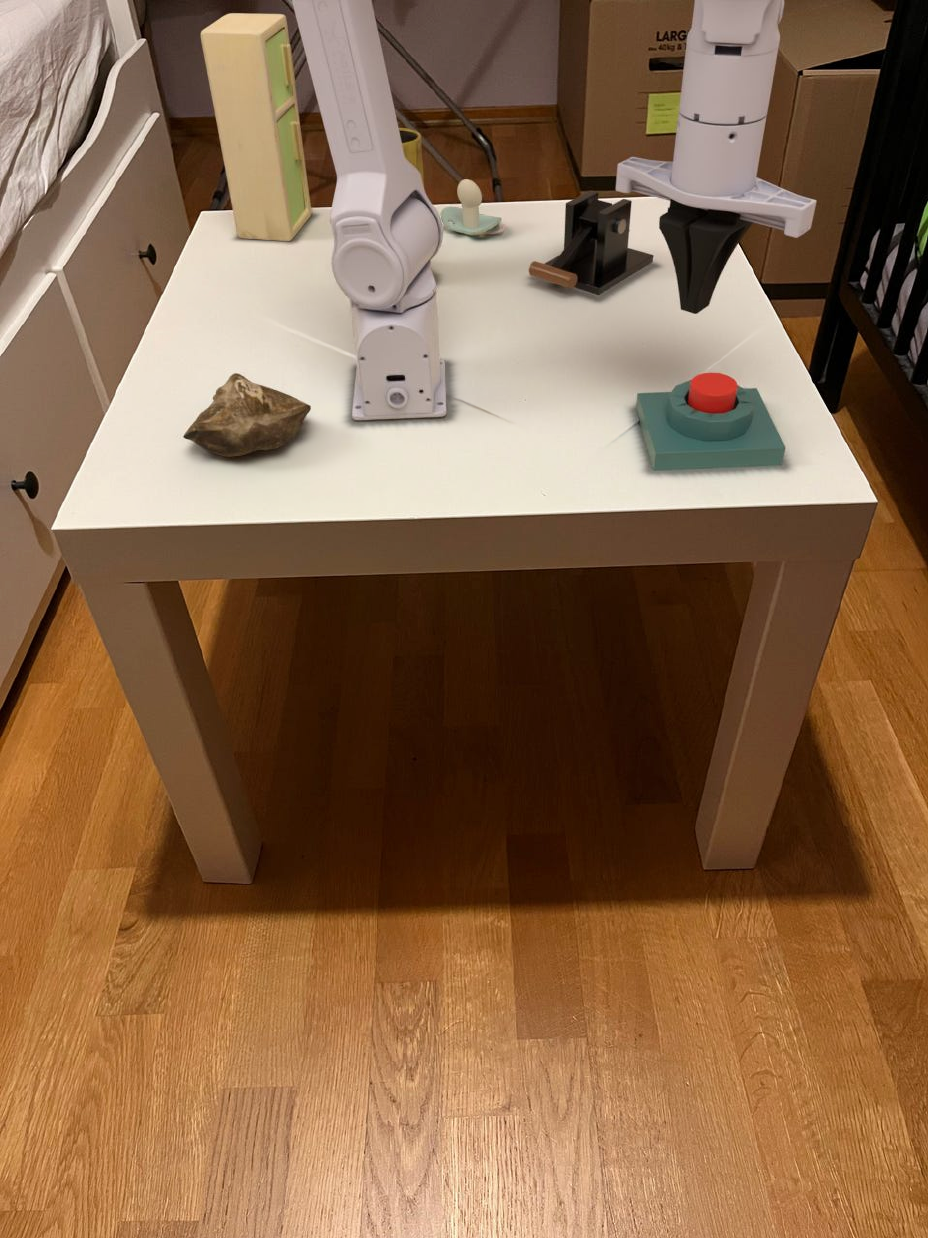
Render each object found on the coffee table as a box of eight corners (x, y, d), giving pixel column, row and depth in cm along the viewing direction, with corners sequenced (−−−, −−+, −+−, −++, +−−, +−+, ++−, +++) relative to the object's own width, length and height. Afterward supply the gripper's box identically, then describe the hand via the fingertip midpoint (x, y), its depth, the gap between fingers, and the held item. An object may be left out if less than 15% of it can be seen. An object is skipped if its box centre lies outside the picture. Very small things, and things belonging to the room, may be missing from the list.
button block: (781, 466, 76) (790, 427, 74) (653, 471, 76) (658, 432, 74) (753, 405, 82) (760, 368, 80) (635, 410, 82) (639, 373, 80)
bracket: (598, 299, 98) (603, 226, 93) (535, 279, 102) (536, 208, 97) (652, 265, 103) (660, 195, 98) (590, 247, 107) (594, 178, 102)
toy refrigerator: (297, 242, 111) (266, 31, 96) (236, 239, 112) (197, 30, 98) (319, 215, 116) (292, 13, 102) (261, 212, 118) (226, 12, 103)
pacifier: (464, 218, 115) (434, 234, 111) (463, 162, 111) (432, 177, 107) (517, 231, 112) (488, 247, 108) (518, 173, 107) (488, 189, 104)
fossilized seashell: (177, 455, 75) (308, 462, 77) (178, 366, 74) (311, 376, 76) (189, 451, 83) (309, 459, 84) (190, 371, 81) (311, 380, 83)
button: (739, 414, 76) (742, 394, 75) (692, 416, 76) (695, 396, 75) (728, 390, 78) (731, 371, 77) (683, 392, 78) (686, 372, 77)
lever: (571, 295, 97) (566, 276, 95) (531, 282, 99) (526, 264, 97) (627, 225, 99) (624, 206, 97) (587, 214, 101) (582, 195, 99)
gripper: (853, 116, 63) (808, 314, 72) (661, 79, 70) (642, 264, 79) (802, 145, 59) (762, 351, 68) (605, 104, 66) (592, 295, 76)
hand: (694, 307), depth 74 cm, fingers closed
